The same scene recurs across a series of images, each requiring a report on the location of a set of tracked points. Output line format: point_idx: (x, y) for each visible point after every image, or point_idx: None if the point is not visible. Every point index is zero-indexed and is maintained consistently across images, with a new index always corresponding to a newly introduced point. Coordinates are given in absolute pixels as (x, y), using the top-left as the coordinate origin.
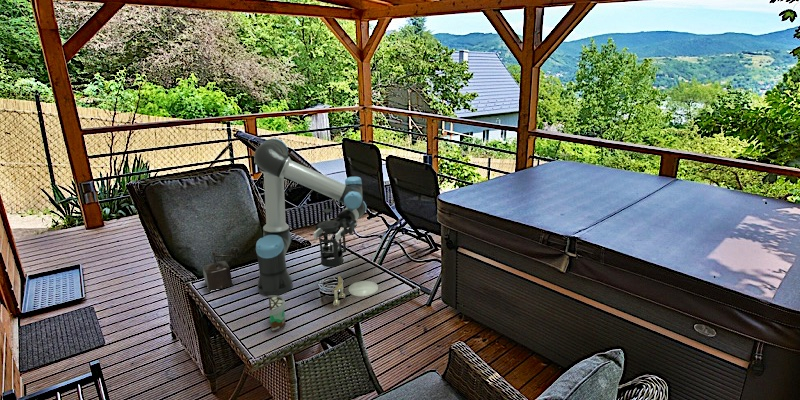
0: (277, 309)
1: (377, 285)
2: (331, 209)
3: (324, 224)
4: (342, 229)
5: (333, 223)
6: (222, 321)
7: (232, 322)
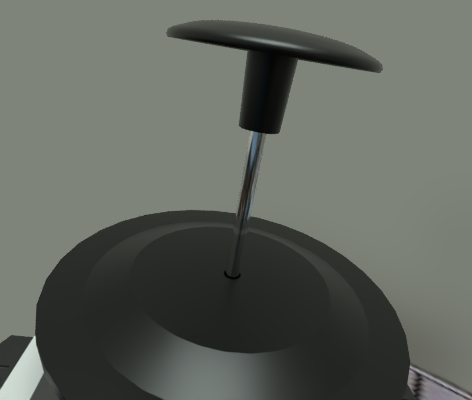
0: None
1: None
2: (217, 23)
3: (270, 250)
4: (2, 389)
5: (155, 274)
6: (436, 380)
7: (409, 379)
